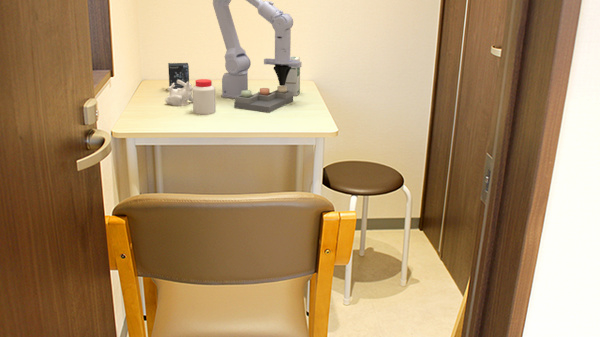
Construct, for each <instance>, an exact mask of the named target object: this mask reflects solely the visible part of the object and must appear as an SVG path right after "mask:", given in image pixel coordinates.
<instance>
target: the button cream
mask: <svg viewBox="0 0 600 337" xmlns="http://www.w3.org/2000/svg"><path fill="white" fill-rule="evenodd" d="M276 90H277V92H278V93H287V87H286V86H280V85H277V89H276Z"/></svg>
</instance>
